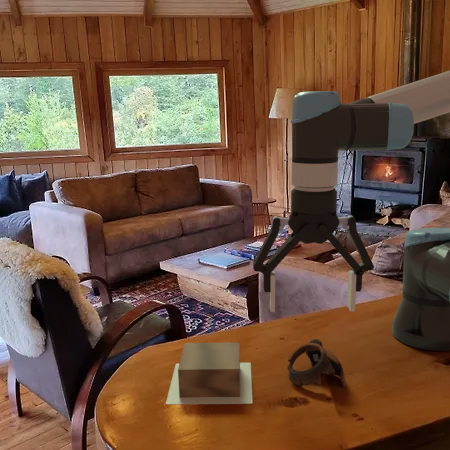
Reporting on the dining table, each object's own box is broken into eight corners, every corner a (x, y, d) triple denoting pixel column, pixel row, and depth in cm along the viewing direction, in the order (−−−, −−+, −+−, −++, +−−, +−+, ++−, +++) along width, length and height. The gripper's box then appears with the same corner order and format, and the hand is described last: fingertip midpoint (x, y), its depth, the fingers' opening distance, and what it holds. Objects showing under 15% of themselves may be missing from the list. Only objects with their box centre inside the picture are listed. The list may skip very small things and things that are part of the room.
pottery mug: (354, 399, 88) (333, 366, 85) (303, 417, 91) (281, 385, 88) (343, 351, 99) (325, 320, 96) (298, 368, 101) (278, 339, 98)
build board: (250, 369, 98) (250, 362, 98) (252, 411, 84) (252, 403, 84) (176, 370, 98) (176, 363, 98) (166, 412, 85) (165, 404, 84)
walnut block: (239, 367, 96) (239, 342, 95) (239, 396, 86) (239, 368, 85) (185, 368, 96) (184, 343, 95) (179, 397, 86) (177, 369, 85)
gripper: (384, 183, 90) (378, 301, 94) (238, 185, 90) (239, 301, 95) (396, 190, 82) (390, 316, 87) (238, 191, 83) (239, 317, 88)
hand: (311, 309), depth 91 cm, fingers open, 13 cm apart
